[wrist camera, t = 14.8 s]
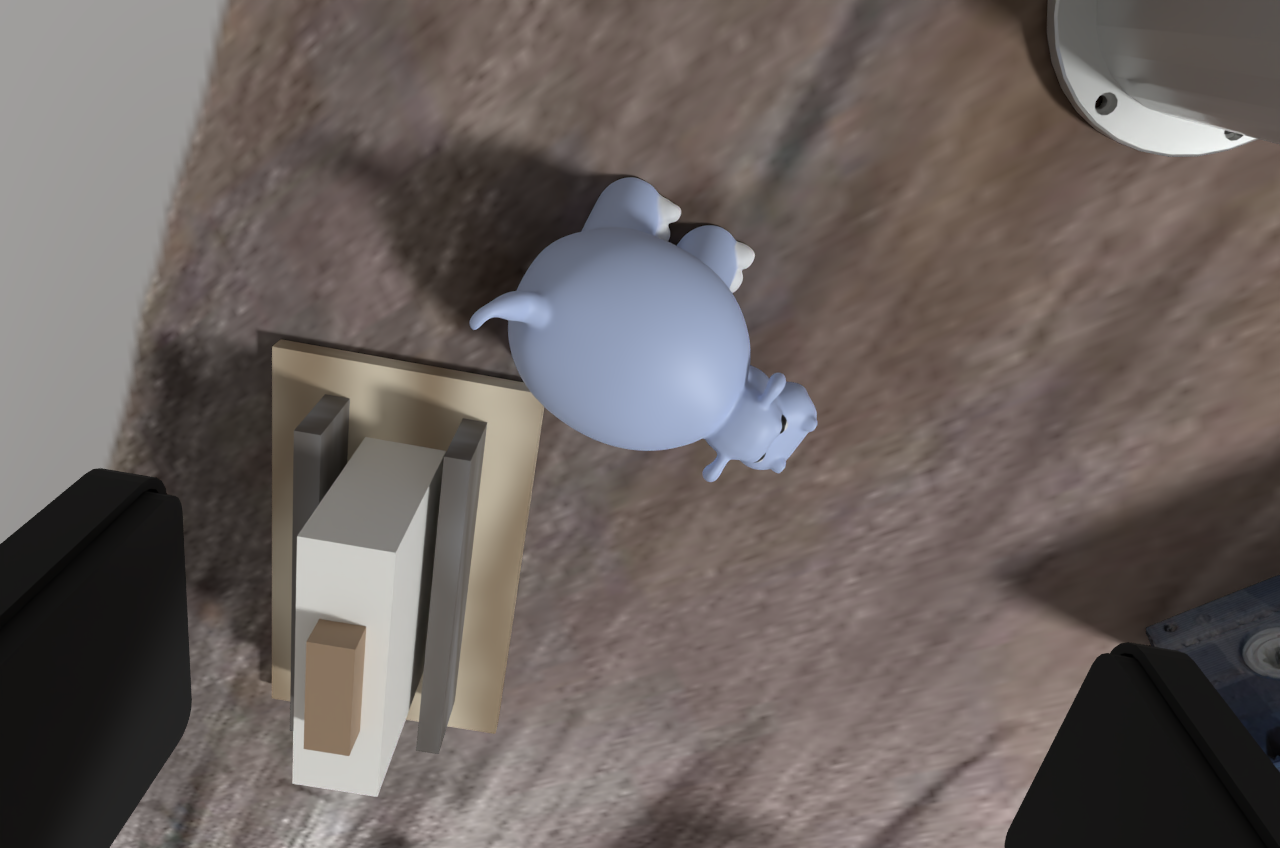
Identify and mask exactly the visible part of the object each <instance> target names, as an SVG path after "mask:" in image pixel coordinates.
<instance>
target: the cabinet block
mask: <svg viewBox="0 0 1280 848" xmlns="http://www.w3.org/2000/svg"><path fill="white" fill-rule="evenodd" d="M445 454H446V451H443V450H438V449H432V448H426V447H421V446H415V445H409V444H403V443H398V442H392V441H386V440H381V439H375V438H369V437H365V438H364V440H363V441H362V443H361V444H360V445H359V447H358V448H357V450H356V451H355V453H354V454H353V456H352V457H351V459H350V460H349V461H348V463H347V464H346V466H345V467H344V469H343V470H342V472H341V473H340V475H339V476H338V477H337V479H336V480H335V482H334V483H333V485H332V486H331V488H330V489H329V491H328V492H327V493H326V495H325V496H324V498H323V499H322V501H321V502H320V504H319V505H318V507H317V508H316V509H315V511H314V512H313V514H312V515H311V517H310V518H309V520H308V521H307V523H306V524H305V525H304V527H303V528H302V530H301V531H300V533H299V534H298V536H297V567H296V621H295V675H294V729H293V782H292V784H298V785H305V786H311V787H318V788H324V789H330V790H337V791H343V792H349V793H356V794H362V795H369V796H375V797H377V796H378V794H379V791H380V788H381V785H382V783H383V780H384V777H385V775H386V772H387V769H388V766H389V764H390V761H391V758H392V755H393V753H394V750H395V747H396V745H397V742H398V739H399V736H400V734H401V731H402V728H403V726H404V723H405V720H406V717H407V715H408V712H409V709H410V706H411V704H412V701H413V698H414V696H415V693H416V690H417V687H418V685H419V682H420V679H421V677H422V674H423V671H424V662H425V652H426V641H427V631H428V620H429V610H430V599H431V589H432V578H433V568H434V557H435V547H436V536H437V526H438V515H439V505H440V494H441V484H442V473H443V463H444V456H445Z"/></svg>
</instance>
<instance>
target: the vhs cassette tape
mask: <svg viewBox="0 0 1280 848" xmlns="http://www.w3.org/2000/svg"><path fill="white" fill-rule="evenodd" d="M1146 634H1147V636H1148V638H1149V641H1150V644H1151V646H1153V647H1159V648H1165V649H1171V650H1177V651H1180V652H1183V653H1186V654H1187V655H1188V656H1189V657H1190V658H1191V659H1192V660H1194V662H1195V663H1196V664H1197V665H1198V667H1199V668H1200V669H1201V671H1202V672H1203V673H1204V675H1205V676H1206V677H1207V678H1208V680H1209V681H1210V682H1211V684H1212V685H1213V686H1214V688H1215V689H1216V690H1217V691H1218V693H1219V694H1220V695H1221V697H1222V698H1223V699H1224V700H1225V702H1226V703H1227V704H1228V706H1229V707H1230V708H1231V710H1232V711H1233V712H1234V713H1235V715H1236V716H1237V717H1238V719H1239V720H1240V721H1241V723H1242V724H1243V725H1244V726H1245V728H1246V729H1247V730H1248V732H1249V733H1250V734H1251V736H1252V737H1253V738H1254V739H1255V741H1256V742H1257V743H1258V745H1259V746H1260V747H1261V749H1262V750H1263V751H1264V752H1265V754H1266V755H1267V756H1268V758H1269V759H1270V760H1271V761H1272V763H1273V764H1274V765H1275V767H1276V768H1277V769H1278V771H1279V772H1280V575H1278V576H1275V577H1273V578H1270V579H1267V580H1265V581H1262V582H1260V583H1257V584H1255V585H1252V586H1250V587H1247V588H1244V589H1242V590H1239V591H1237V592H1234V593H1232V594H1229V595H1227V596H1224V597H1222V598H1219V599H1217V600H1214V601H1211V602H1209V603H1207V604H1204V605H1202V606H1199V607H1197V608H1194V609H1191V610H1189V611H1186V612H1184V613H1181V614H1179V615H1176V616H1174V617H1172V618H1169V619H1167V620H1164V621H1161V622H1159V623H1156V624H1154V625H1151V626H1149V627H1147V628H1146Z"/></svg>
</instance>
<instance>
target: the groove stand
mask: <svg viewBox="0 0 1280 848" xmlns="http://www.w3.org/2000/svg"><path fill="white" fill-rule="evenodd" d="M543 412H544V406H543V405H542V404H541V403H540V402H539V401H538V400H537V399H536V398H535V397H534V395H533V394H532V393H531V392H530V390H529V389H528V388H527V386H526V385H525V383H524V382H519V381H513V380H508V379H502V378H496V377H491V376H485V375H479V374H474V373H468V372H463V371H457V370H451V369H446V368H440V367H434V366H429V365H423V364H417V363H412V362H406V361H400V360H395V359H389V358H384V357H378V356H372V355H367V354H361V353H355V352H350V351H344V350H338V349H333V348H327V347H322V346H316V345H310V344H305V343H299V342H293V341H288V340H282V339H280V340H279V341H278V342H277V343H276V344H275V345H273V346H272V698H273V699H280V700H286V701H290V731H293V729H294V675H295V621H296V567H297V536H298V534H299V533H300V531H301V530H302V528H303V527H304V525H305V524H306V523H307V521H308V520H309V518H310V517H311V515H312V514H313V512H314V511H315V509H316V508H317V507H318V505H319V504H320V502H321V501H322V499H323V498H324V496H325V495H326V493H327V492H328V491H329V489H330V488H331V486H332V485H333V483H334V482H335V480H336V479H337V477H338V476H339V475H340V473H341V472H342V470H343V469H344V467H345V466H346V464H347V463H348V461H349V460H350V459H351V457H352V456H353V454H354V453H355V451H356V450H357V448H358V447H359V445H360V444H361V443H362V441H363V440H364V438H365V437H369V438H375V439H381V440H386V441H392V442H398V443H403V444H409V445H415V446H421V447H426V448H432V449H438V450H443V451H446V454H445V456H444V463H443V473H442V484H441V494H440V505H439V515H438V526H437V536H436V547H435V557H434V568H433V578H432V589H431V599H430V610H429V620H428V631H427V641H426V652H425V662H424V671H423V674H422V677H421V679H420V682H419V685H418V687H417V690H416V693H415V696H414V698H413V701H412V704H411V706H410V709H409V712H408V715H407V717H406V720H411V721H418V722H419V725H418V736H417V746H416V751H421V752H428V753H434V754H439V751H440V748H441V744H442V741H443V738H444V735H445V731H446V728H447V726H449V727H455V728H462V729H468V730H474V731H481V732H487V733H493V734H495V733H496V729H497V725H498V720H499V713H500V706H501V699H502V693H503V686H504V679H505V672H506V665H507V658H508V651H509V645H510V638H511V631H512V624H513V617H514V610H515V604H516V597H517V590H518V583H519V576H520V569H521V563H522V556H523V549H524V542H525V535H526V528H527V521H528V515H529V508H530V501H531V494H532V487H533V480H534V474H535V467H536V460H537V453H538V446H539V439H540V432H541V426H542V419H543Z"/></svg>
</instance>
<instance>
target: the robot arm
mask: <svg viewBox="0 0 1280 848" xmlns="http://www.w3.org/2000/svg"><path fill="white" fill-rule="evenodd" d="M1047 37H1048V44H1049V50H1050V56H1051V62H1052V65H1053V68H1054V70H1055V73H1056V75H1057V78H1058V81H1059V83H1060V86H1061V89H1062V90H1063V92H1064V93H1065V95H1066V96H1067V98H1068V99H1069V101H1070V102H1071V104H1072V105H1073V107H1074V108H1075V110H1076V111H1077V113H1079V114H1080V115H1081V116H1082V117H1083V118H1084V119H1085V120H1086V121H1087V122H1088V123H1089V124H1090V125H1091V126H1092V127H1093V128H1094V129H1095V130H1097V131H1099V132H1100V133H1102V134H1104V135H1105V136H1107V137H1109V138H1111V139H1112V140H1114V141H1116V142H1118V143H1119V144H1122V145H1125V146H1128V147H1131V148H1134V149H1136V150H1139V151H1142V152H1147V153H1152V154H1157V155H1163V156H1168V157H1183V156H1202V155H1208V154H1213V153H1218V152H1223V151H1228V150H1231V149H1234V148H1236V147H1239V146H1242V145H1244V144H1247V143H1250V142H1252V141H1255V140H1258V139H1260V140H1264V141H1268V142H1272V143H1276V144H1280V0H1048V5H1047ZM1099 96H1102V98H1103V101H1102V104H1101V105H1100V106H1099V107H1097V108H1095V102H1096V100H1097V99H1098V97H1099ZM1225 130H1226V131H1225ZM191 702H192V698H191V677H190V657H189V637H188V617H187V597H186V576H185V556H184V536H183V516H182V506H181V503H180V500H179V498H177V497H175V496H172V495H167V493H166V488H165V486H164V484H163V482H162V481H161V480H159V479H158V478H155V477H149V476H143V475H137V474H131V473H125V472H119V471H113V470H108V469H102V468H101V469H93V470H91V471H90V472H88V473H86V474H85V475H84V476H82V477H81V478H80V479H79V480H78V481H76V482H75V483H74V484H73V485H71V486H70V487H69V488H68V489H67V490H66V491H64V492H63V493H62V494H61V495H60V496H58V497H57V498H56V499H55V500H53V501H52V502H51V503H50V504H48V505H47V506H46V507H45V508H44V509H43V510H41V511H40V512H39V513H38V514H36V515H35V516H34V517H33V518H32V519H30V520H29V521H28V522H27V523H25V524H24V525H23V526H22V527H21V528H19V529H18V530H17V531H16V532H15V533H13V534H12V535H11V536H10V537H8V538H7V539H6V540H5V541H4V542H3V543H1V544H0V848H110V846H111V845H112V843H113V842H114V840H115V839H116V837H117V835H118V834H119V832H120V831H121V829H122V828H123V826H124V825H125V823H126V822H127V820H128V819H129V817H130V816H131V814H132V813H133V811H134V810H135V808H136V807H137V805H138V803H139V802H140V800H141V799H142V797H143V796H144V794H145V793H146V791H147V790H148V788H149V787H150V785H151V784H152V782H153V781H154V779H155V778H156V776H157V775H158V773H159V772H160V770H161V768H162V767H163V765H164V764H165V762H166V761H167V759H168V758H169V756H170V755H171V753H172V752H173V750H174V749H175V747H176V746H177V744H178V743H179V741H180V739H181V737H182V736H183V734H184V731H185V729H186V726H187V723H188V720H189V717H190V712H191ZM1005 848H1280V772H1279V771H1278V769H1277V768H1276V767H1275V765H1274V764H1273V763H1272V761H1271V760H1270V759H1269V758H1268V756H1267V755H1266V754H1265V752H1264V751H1263V750H1262V749H1261V747H1260V746H1259V745H1258V743H1257V742H1256V741H1255V739H1254V738H1253V737H1252V736H1251V734H1250V733H1249V732H1248V730H1247V729H1246V728H1245V726H1244V725H1243V724H1242V723H1241V721H1240V720H1239V719H1238V717H1237V716H1236V715H1235V713H1234V712H1233V711H1232V710H1231V708H1230V707H1229V706H1228V704H1227V703H1226V702H1225V700H1224V699H1223V698H1222V697H1221V695H1220V694H1219V693H1218V691H1217V690H1216V689H1215V688H1214V686H1213V685H1212V684H1211V682H1210V681H1209V680H1208V678H1207V677H1206V676H1205V675H1204V673H1203V672H1202V671H1201V669H1200V668H1199V667H1198V665H1197V664H1196V663H1195V662H1194V660H1192V659H1191V658H1190V657H1189V656H1188V655H1187V654H1186V653H1183V652H1180V651H1177V650H1171V649H1165V648H1159V647H1153V646H1147V645H1141V644H1135V643H1129V642H1127V643H1121V644H1119V645H1118V646H1116V647H1115V648H1114V649H1113V650H1112V651H1111V653H1110V654H1109V653H1106V654H1101V655H1100V656H1099V657H1097V658H1096V660H1095V661H1094V663H1093V664H1092V666H1091V668H1090V670H1089V672H1088V674H1087V676H1086V678H1085V680H1084V682H1083V684H1082V686H1081V688H1080V690H1079V692H1078V694H1077V696H1076V698H1075V700H1074V702H1073V704H1072V706H1071V708H1070V709H1069V711H1068V713H1067V715H1066V717H1065V719H1064V721H1063V723H1062V725H1061V727H1060V729H1059V731H1058V733H1057V735H1056V737H1055V739H1054V741H1053V743H1052V745H1051V747H1050V749H1049V751H1048V753H1047V755H1046V757H1045V759H1044V761H1043V763H1042V765H1041V767H1040V769H1039V771H1038V773H1037V774H1036V776H1035V778H1034V780H1033V782H1032V784H1031V786H1030V788H1029V790H1028V792H1027V794H1026V796H1025V798H1024V800H1023V802H1022V804H1021V806H1020V808H1019V810H1018V812H1017V814H1016V816H1015V818H1014V820H1013V822H1012V824H1011V826H1010V828H1009V830H1008V832H1007V835H1006V840H1005Z"/></svg>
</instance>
